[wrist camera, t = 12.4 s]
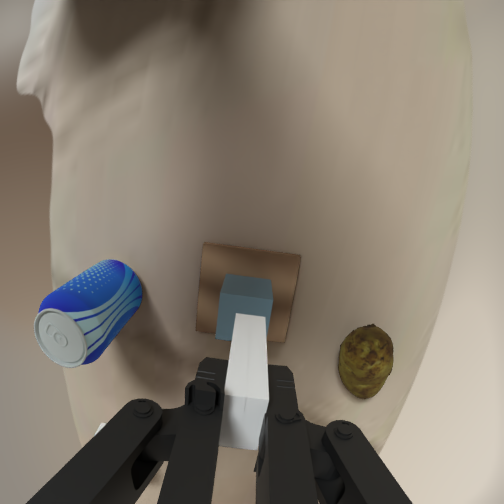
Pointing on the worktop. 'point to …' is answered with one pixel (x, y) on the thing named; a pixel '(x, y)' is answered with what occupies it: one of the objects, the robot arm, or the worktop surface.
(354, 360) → the brown oval lump
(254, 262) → the tan square panel
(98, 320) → the beer can
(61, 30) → the worktop surface
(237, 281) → the light blue chamfered box
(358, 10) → the worktop surface
